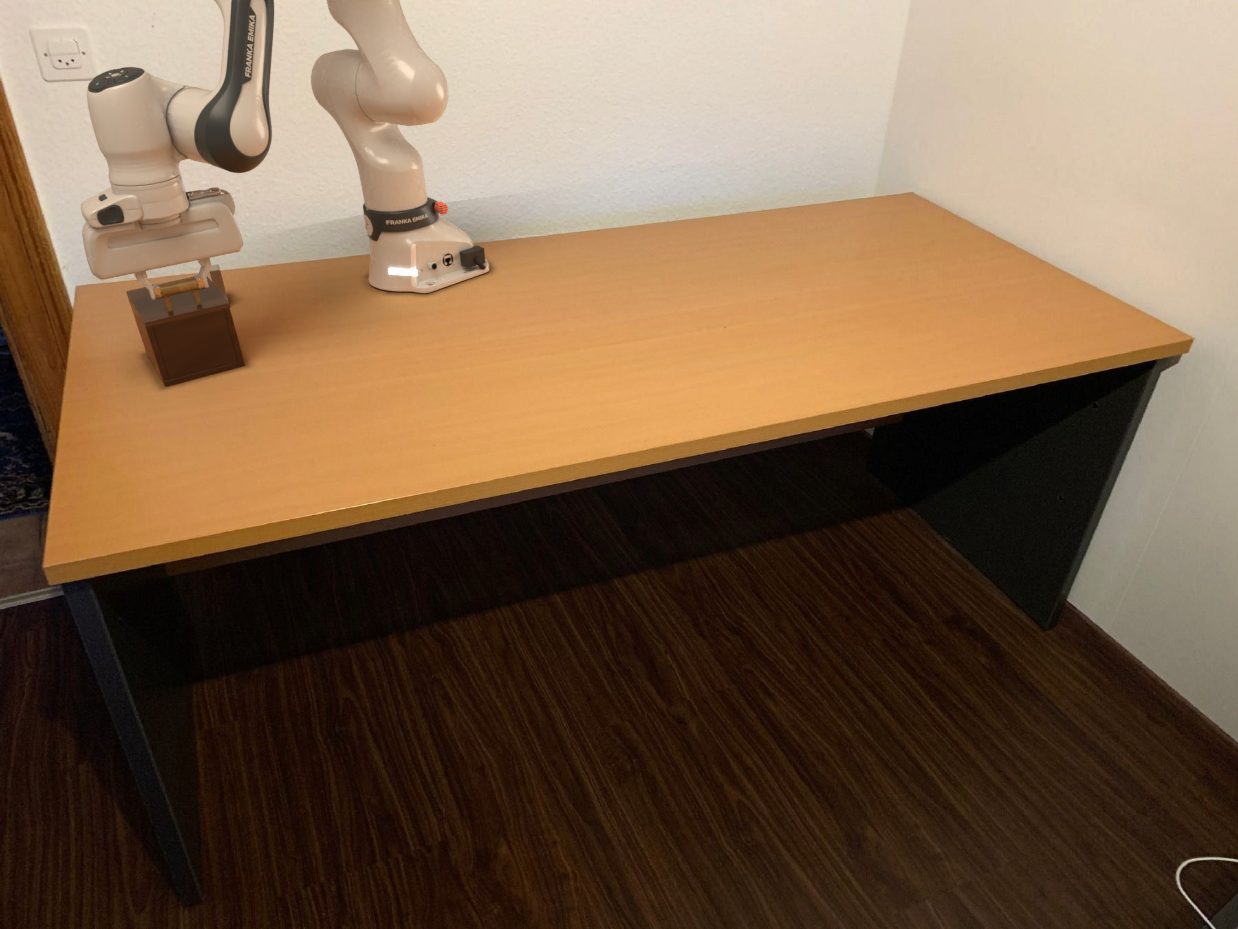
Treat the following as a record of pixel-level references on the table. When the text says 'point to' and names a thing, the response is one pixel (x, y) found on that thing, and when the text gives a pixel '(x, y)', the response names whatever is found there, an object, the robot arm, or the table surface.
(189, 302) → the lid
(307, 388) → the table surface
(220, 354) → the chest
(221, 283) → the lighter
